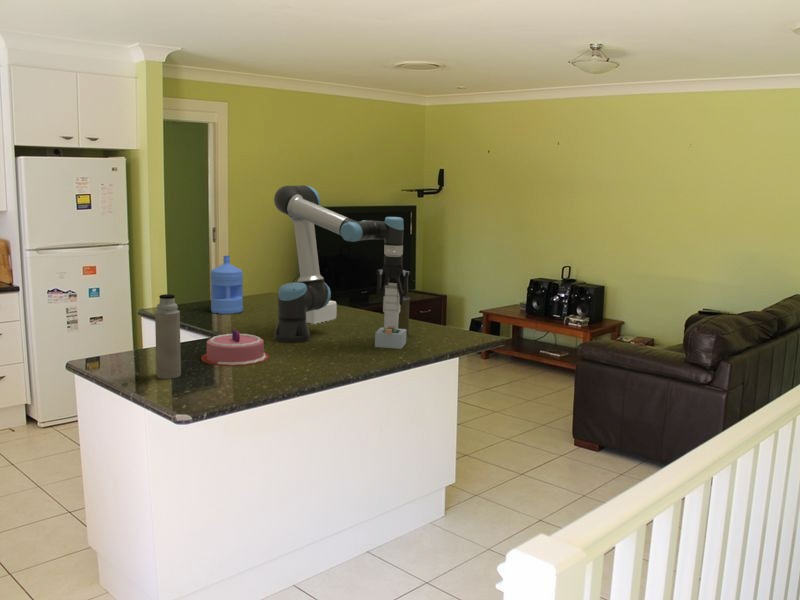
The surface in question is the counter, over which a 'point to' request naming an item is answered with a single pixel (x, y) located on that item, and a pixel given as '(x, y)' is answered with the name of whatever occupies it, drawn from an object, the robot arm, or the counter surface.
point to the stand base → (390, 338)
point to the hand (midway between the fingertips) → (391, 312)
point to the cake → (235, 350)
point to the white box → (322, 313)
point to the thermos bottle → (167, 338)
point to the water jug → (226, 288)
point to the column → (391, 307)
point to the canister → (404, 315)
